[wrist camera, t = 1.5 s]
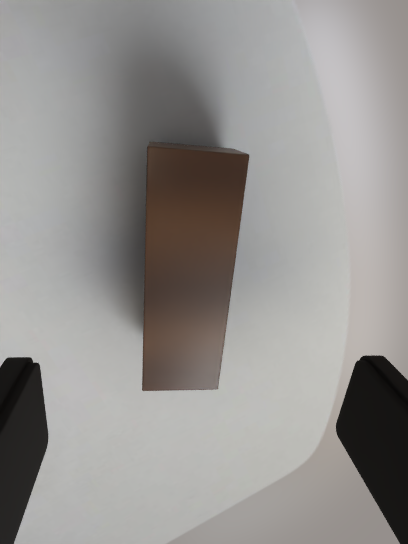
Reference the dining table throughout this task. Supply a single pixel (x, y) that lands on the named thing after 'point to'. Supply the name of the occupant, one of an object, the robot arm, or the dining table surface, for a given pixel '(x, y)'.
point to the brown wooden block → (189, 261)
